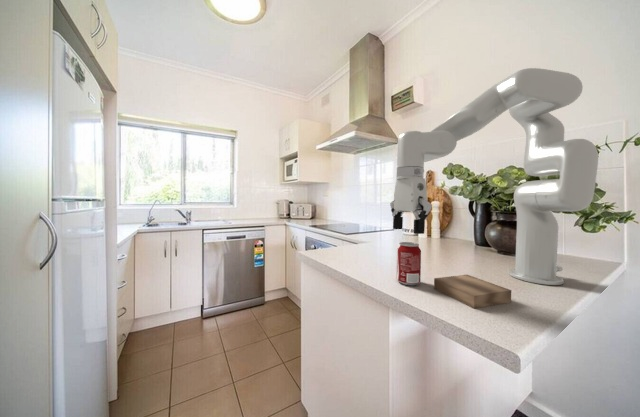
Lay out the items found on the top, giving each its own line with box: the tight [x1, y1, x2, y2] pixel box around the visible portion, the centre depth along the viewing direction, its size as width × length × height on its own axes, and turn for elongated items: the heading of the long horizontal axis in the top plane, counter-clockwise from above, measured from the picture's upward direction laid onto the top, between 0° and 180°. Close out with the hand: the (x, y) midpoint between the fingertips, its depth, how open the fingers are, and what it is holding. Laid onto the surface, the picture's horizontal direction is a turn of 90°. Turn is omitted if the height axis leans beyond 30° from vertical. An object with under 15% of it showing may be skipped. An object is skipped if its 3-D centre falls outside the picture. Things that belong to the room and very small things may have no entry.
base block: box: [433, 274, 512, 309], centre depth 59 cm, size 12×12×3 cm
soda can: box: [396, 241, 422, 287], centre depth 67 cm, size 7×7×12 cm
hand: (407, 231), depth 67 cm, fingers open, 9 cm apart
